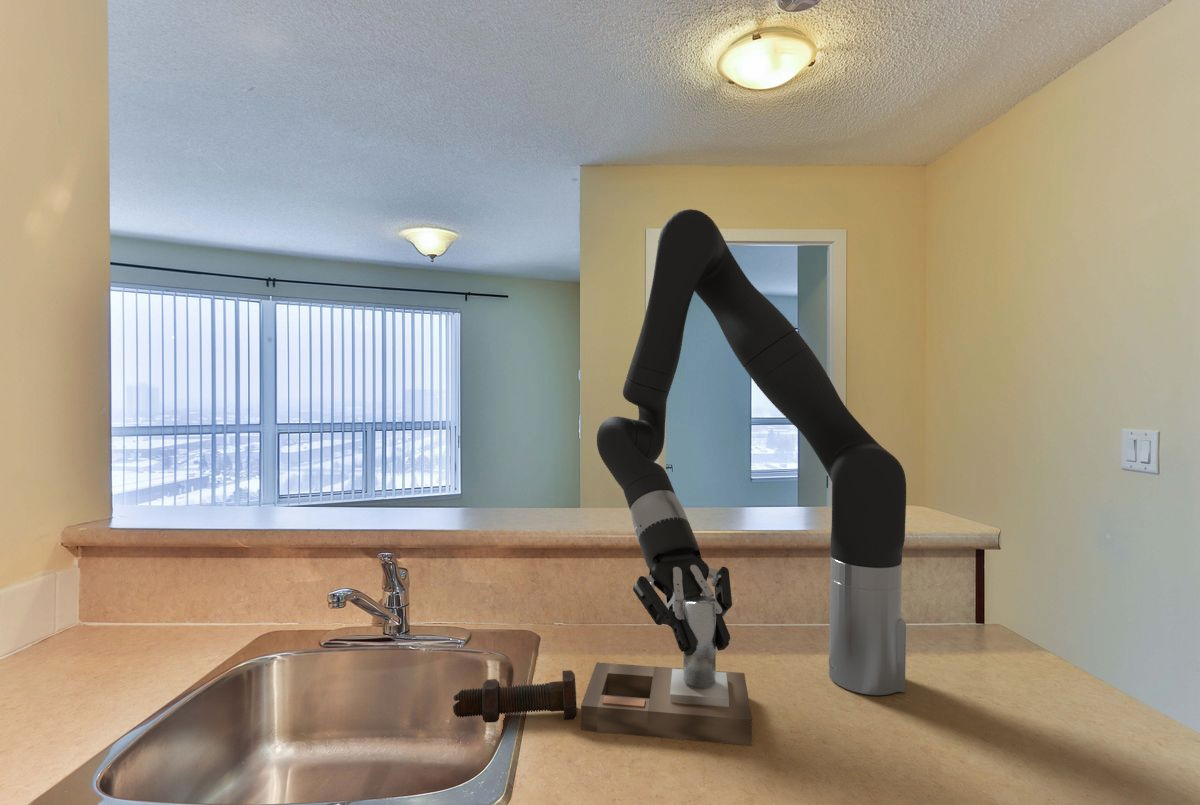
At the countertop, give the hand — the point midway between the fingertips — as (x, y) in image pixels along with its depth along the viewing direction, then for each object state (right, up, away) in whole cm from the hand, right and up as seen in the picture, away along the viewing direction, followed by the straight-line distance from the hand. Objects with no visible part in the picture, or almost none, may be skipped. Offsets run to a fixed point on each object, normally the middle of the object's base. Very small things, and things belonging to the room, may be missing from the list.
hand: (707, 649), depth 77 cm
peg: (-1, -5, +2) cm, 5 cm away
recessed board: (-5, -9, +3) cm, 10 cm away
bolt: (-24, -9, +2) cm, 26 cm away
